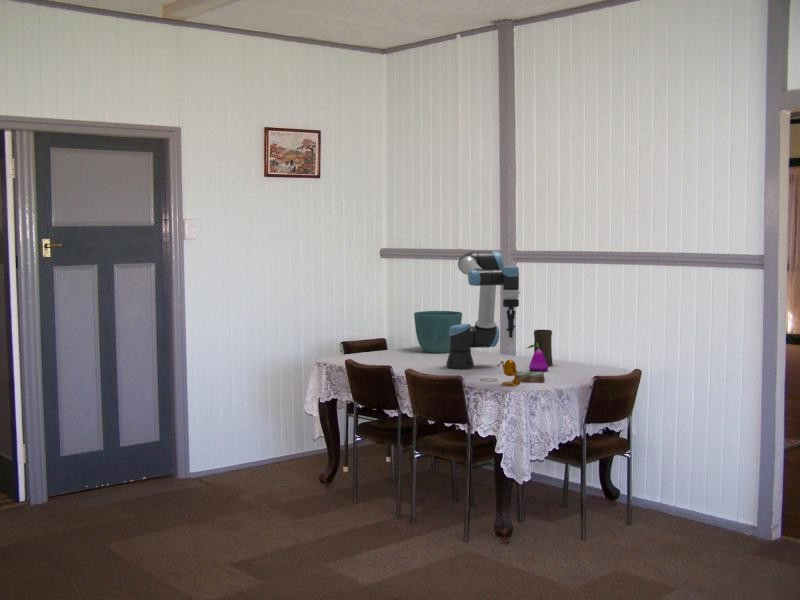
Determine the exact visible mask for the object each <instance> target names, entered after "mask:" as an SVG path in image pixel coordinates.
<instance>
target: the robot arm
mask: <svg viewBox="0 0 800 600" xmlns="http://www.w3.org/2000/svg"><path fill="white" fill-rule="evenodd" d="M457 267H458V269H459V271H460V272H461V273H462V274H464V275H467V281H468V284H469V286H473V287H474V286H475V287H478V286H479V295H478V296H479V297H478V298H479V299H478V313H477V314H478V316H477V320H476V321H475V322H474V325H473V326H472V325H471V324H470V323H461V324H459V325H454V326H452V327H451V328H450V331H449V352H448V356H447V360H446V364H445V365H446V366H445V367H446V368H448V369H453V370H455V369H456V370H468V369H473V368H474V367H475V363H474V362H475V361H474V359H473V355H472V349H473V348H474V349H476V348H477V349H478V348H479V349H480V348H483V349H484V348H488V349H489V348H494V347H496V346H497V345H498V342H499V339H500V327H499V326H498V325H497V322H495V308H496V293H497V292H496V291H497V286H502V298H503V299H502V307H504V308H507V310H506V315H507V317H506V318H507V328H506V332H507V345H514V342H515V329H516V325H515V323H514V320H515V315H516V310H514V309H515V308H519V306H520V299H518V298H520V295H519V294H521V291H520V290H519V289H520V271H519V266H517V265H511V266H509V265H507V266H506V265H505V266H504V259H503V256H502V254H501V252H500V251H492V250H491V251H490V250H489V251H487V250H486V251H469V252H467V253H465V254H463V255H462V256H460V258H459V259H458V262H457Z"/></svg>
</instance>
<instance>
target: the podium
mask: <svg viewBox="0 0 800 600" xmlns="http://www.w3.org/2000/svg"><path fill="white" fill-rule="evenodd" d="M516 375H517V381H519V382H520V383H538V384H539V383H545V375H544V371H542V372H536V371H517V372H516Z"/></svg>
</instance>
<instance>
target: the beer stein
mask: <svg viewBox="0 0 800 600" xmlns="http://www.w3.org/2000/svg"><path fill="white" fill-rule="evenodd" d="M552 335H553V331H552V330H551V329H534V331H533V338H534V342H533V345H535V346H537V345H536V343H538V346H539V349H540V350H541V351H542V353H543V355H544V358H545V361H546V363H547V366H548V368H549V367H553V366H554V363H553V355H552V352H553V351H552V349H553V347H552ZM537 349H538V348H537V347H533V353H534V352H535V351H536V350H537Z"/></svg>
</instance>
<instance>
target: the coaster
mask: <svg viewBox="0 0 800 600" xmlns="http://www.w3.org/2000/svg"><path fill="white" fill-rule="evenodd" d="M479 381H480V382H484V381H485V382H486V383H487V382H488V383H489V382H490V383H491V382H497V381H499V379H498V378H496V377H495V378H494V377H482V378H481V377H480V378H479Z"/></svg>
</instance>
